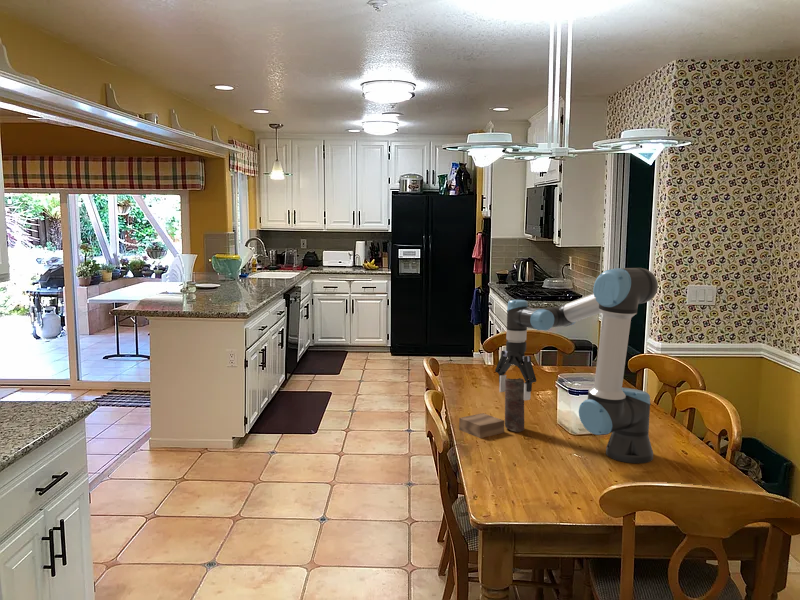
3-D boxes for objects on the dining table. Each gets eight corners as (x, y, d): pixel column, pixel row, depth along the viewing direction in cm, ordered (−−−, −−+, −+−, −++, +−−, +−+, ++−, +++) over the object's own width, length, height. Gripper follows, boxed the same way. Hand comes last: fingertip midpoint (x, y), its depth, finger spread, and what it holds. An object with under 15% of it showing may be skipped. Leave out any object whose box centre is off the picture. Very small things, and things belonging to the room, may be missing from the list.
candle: (501, 430, 248) (502, 379, 246) (507, 425, 254) (508, 375, 252) (520, 433, 244) (522, 381, 242) (526, 428, 251) (528, 377, 249)
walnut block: (504, 433, 246) (504, 420, 245) (479, 439, 239) (480, 425, 238) (482, 425, 255) (483, 413, 255) (459, 430, 249) (459, 417, 248)
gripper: (547, 345, 237) (545, 401, 240) (501, 335, 258) (500, 387, 261) (532, 347, 233) (530, 404, 236) (487, 336, 254) (485, 389, 257)
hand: (514, 395), depth 248 cm, fingers open, 13 cm apart
